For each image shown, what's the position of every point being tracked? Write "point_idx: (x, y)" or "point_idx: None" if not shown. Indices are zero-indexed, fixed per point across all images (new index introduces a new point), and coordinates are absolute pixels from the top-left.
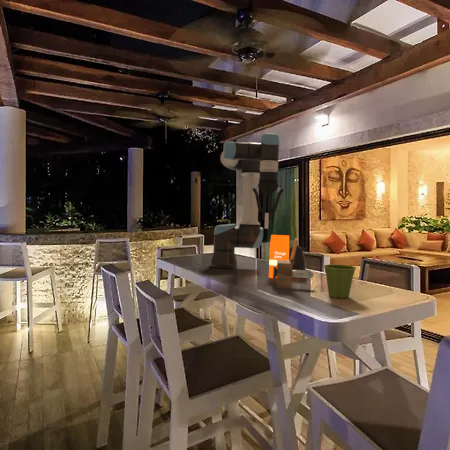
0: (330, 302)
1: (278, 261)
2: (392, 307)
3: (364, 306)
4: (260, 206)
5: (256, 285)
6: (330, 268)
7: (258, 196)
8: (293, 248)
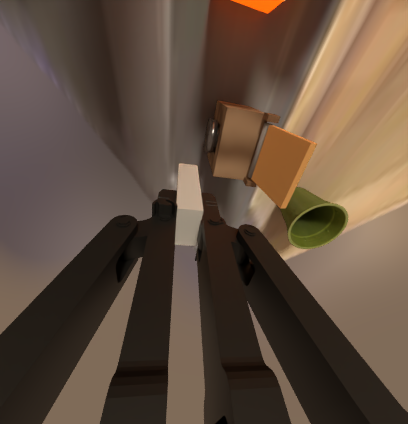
0: (262, 229)
1: (222, 148)
2: None
3: None
4: (126, 275)
5: (168, 135)
6: (290, 242)
7: (54, 394)
8: (275, 163)
